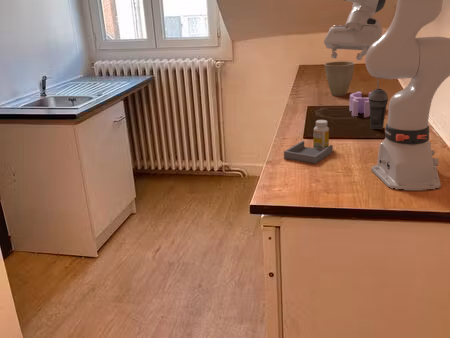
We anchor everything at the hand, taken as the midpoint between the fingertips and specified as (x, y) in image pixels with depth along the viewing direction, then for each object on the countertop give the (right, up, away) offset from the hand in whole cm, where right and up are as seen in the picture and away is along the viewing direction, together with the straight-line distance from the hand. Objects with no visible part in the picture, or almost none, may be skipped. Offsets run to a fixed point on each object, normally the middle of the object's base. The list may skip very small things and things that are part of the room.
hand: (345, 58), depth 165 cm
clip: (+19, -14, +43) cm, 49 cm away
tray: (-14, -35, -7) cm, 38 cm away
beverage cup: (+17, -24, +17) cm, 34 cm away
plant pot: (+16, -1, +77) cm, 78 cm away
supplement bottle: (-9, -32, 0) cm, 33 cm away
